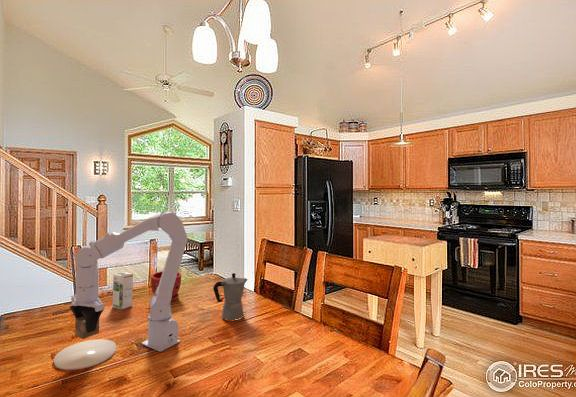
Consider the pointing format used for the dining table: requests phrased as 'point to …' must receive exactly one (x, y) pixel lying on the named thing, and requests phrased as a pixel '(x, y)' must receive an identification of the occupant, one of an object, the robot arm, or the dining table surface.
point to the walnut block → (84, 328)
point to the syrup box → (122, 290)
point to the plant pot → (156, 279)
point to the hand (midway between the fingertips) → (86, 329)
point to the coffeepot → (231, 297)
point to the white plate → (84, 354)
